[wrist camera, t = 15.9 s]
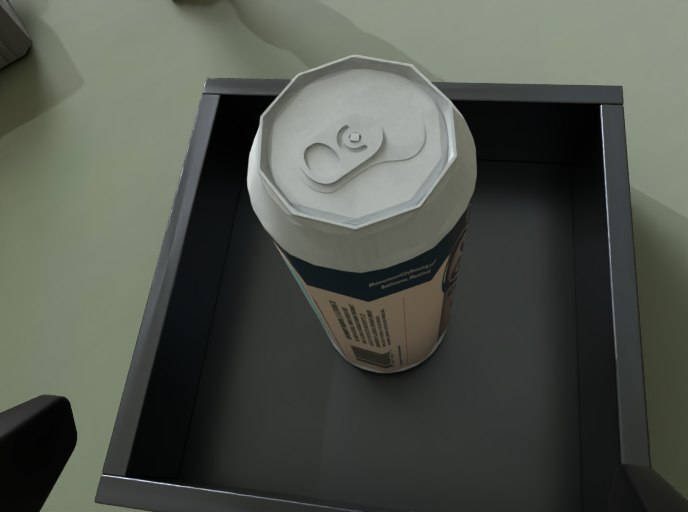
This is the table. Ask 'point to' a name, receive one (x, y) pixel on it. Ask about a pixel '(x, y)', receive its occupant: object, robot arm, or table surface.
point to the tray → (414, 383)
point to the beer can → (368, 203)
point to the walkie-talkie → (11, 35)
